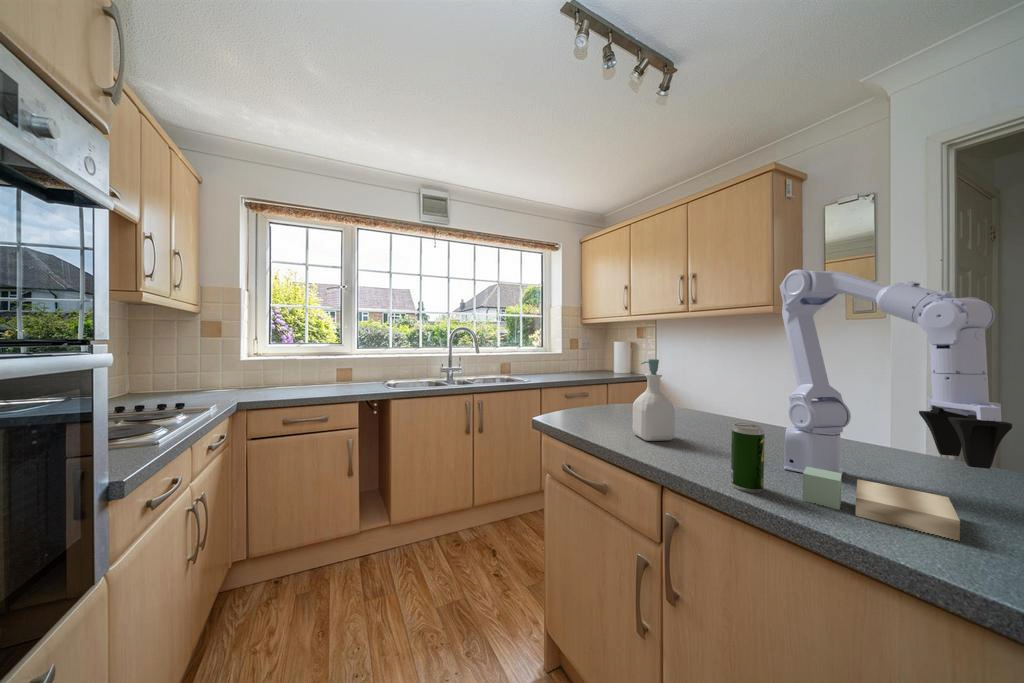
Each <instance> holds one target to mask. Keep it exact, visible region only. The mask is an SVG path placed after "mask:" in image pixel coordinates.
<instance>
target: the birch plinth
mask: <svg viewBox="0 0 1024 683" xmlns="http://www.w3.org/2000/svg"><path fill="white" fill-rule="evenodd" d="M855 492H856V493H855V517H859V518H860V517H861V518H864V519H868V520H872V521H876V522H878V523H879V522H880V523H883V524H884V523H885V524H888V525H891V524H892V525H891V526H895V525H898V526H897V527H899V526H902V527H901V528H903V527H906V528H905V529H907V528H910V529H909V530H911V529H914V530H913V531H915V530H918V531H917V532H919V531H921V532H920V533H923V532H925V533H924V534H927V533H930V534H929V535H931V534H935V535H939V536H942V537H941V538H943V537H946V538H945V539H947V538H950V539H949V540H951V539H954V540H953V541H955V540H959V541H960V542H961V540H960V539H961V538H960V537H961V520H960V518H959V516H958V514H957V512H956V510H955V507H954V506H953V503H952V502H951V500H950V498H949V497H948V496H944V495H940V494H939V495H938V494H934V493H929V492H924V491H918V490H915V489H910V488H909V489H908V488H905V487H904V488H903V487H899V486H894V485H888V484H884V483H879V482H873V481H870V480H869V481H867V480H864V479H858V478H857V480H856V491H855ZM935 535H934V536H935ZM939 536H938V537H939ZM959 541H958V542H959Z"/></svg>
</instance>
